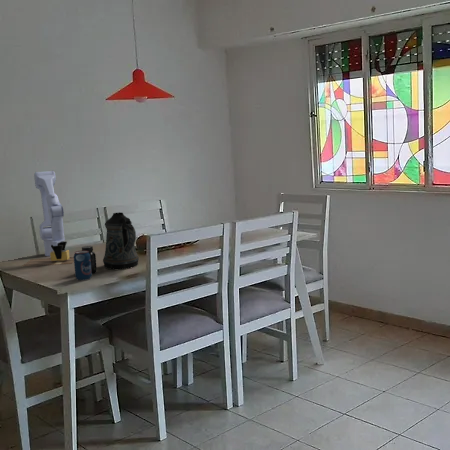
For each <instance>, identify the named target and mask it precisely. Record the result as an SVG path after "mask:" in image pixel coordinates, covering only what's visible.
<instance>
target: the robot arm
mask: <svg viewBox="0 0 450 450" xmlns="http://www.w3.org/2000/svg"><path fill="white" fill-rule="evenodd" d="M33 175H34V176H33V179H34V180H33V181H34V186H35V188H36V190H37V189H38V190H39V192H40V199H41V207H42V215H43V220H44V221H43V222H41V223H40V224H39V237H40V239H41V240H42V241H43V247H44V256H46V257H50V252H52V251H54V253H55V256H56V258H57V259H61V257H62V250H66V246H67V244H68V241H66V238H65V229H64V220H63V219H64V216H65V215H64V213H65V212H64V211H65V210H64V206H63V205H62V203H60V200H59V197H58V194H56V193H55V189H54V187H55V184H56V182H57V177H56V172H55V171H54V170H48V171H35V172H34V174H33Z"/></svg>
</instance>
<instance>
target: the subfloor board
mask: <svg viewBox="0 0 450 450" xmlns="http://www.w3.org/2000/svg"><path fill="white" fill-rule="evenodd" d="M69 257H70V256H69ZM72 264H74V256H71V257H70V258H69V259H68V260H56V261H51V257H50V258H49V257H48V258H47V257H45V258H32V259H29V260H28V261H26V262H25V263H24V264H23V265H21V267H35V266H37V267H38V266H39V267H41V266H56V265H57V266H59V265H72Z"/></svg>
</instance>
